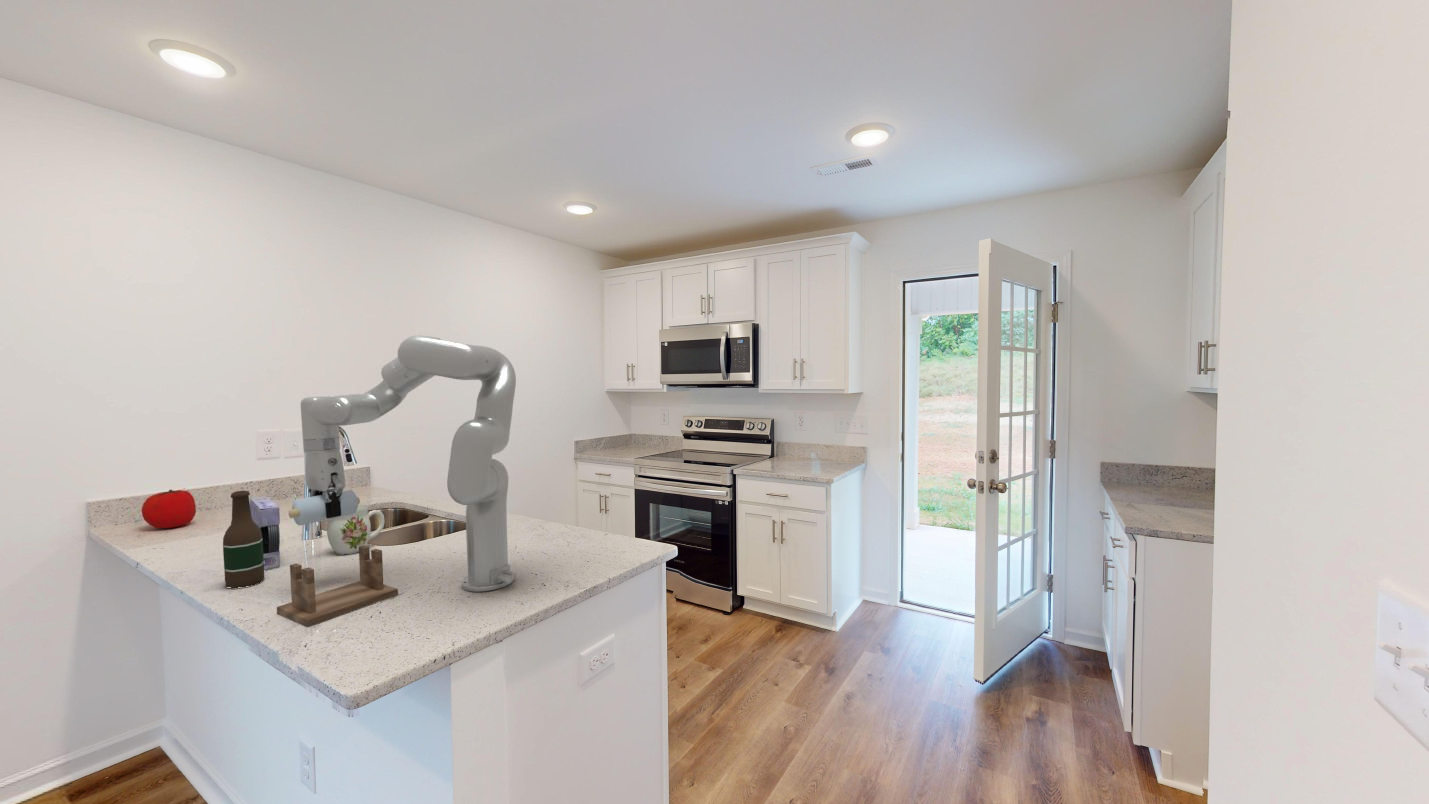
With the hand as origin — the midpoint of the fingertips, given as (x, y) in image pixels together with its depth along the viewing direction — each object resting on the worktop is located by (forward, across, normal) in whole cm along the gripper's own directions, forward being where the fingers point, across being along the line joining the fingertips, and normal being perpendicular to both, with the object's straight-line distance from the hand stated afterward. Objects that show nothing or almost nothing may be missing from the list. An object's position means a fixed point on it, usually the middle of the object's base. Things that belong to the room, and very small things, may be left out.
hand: (326, 515), depth 137 cm
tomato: (+17, +114, -1) cm, 116 cm away
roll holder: (+18, -15, +5) cm, 24 cm away
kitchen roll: (+1, 0, 0) cm, 1 cm away
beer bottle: (+18, +21, +10) cm, 29 cm away
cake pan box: (+18, +36, 0) cm, 40 cm away
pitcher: (+18, +25, -18) cm, 35 cm away
